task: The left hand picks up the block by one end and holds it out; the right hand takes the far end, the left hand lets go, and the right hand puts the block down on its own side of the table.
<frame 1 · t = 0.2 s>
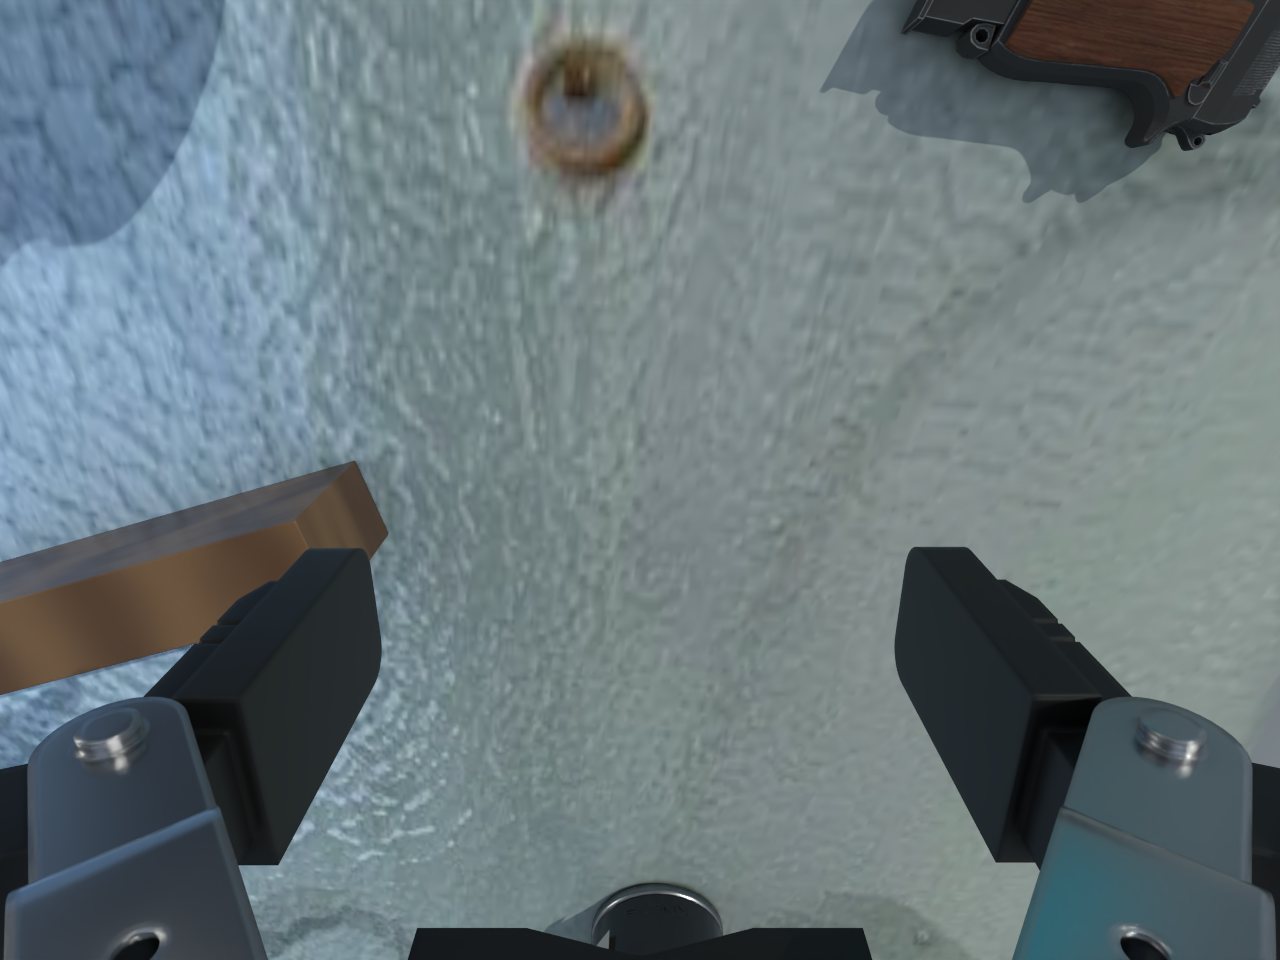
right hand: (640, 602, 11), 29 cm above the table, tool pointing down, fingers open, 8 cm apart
block: (192, 548, 43), on the table
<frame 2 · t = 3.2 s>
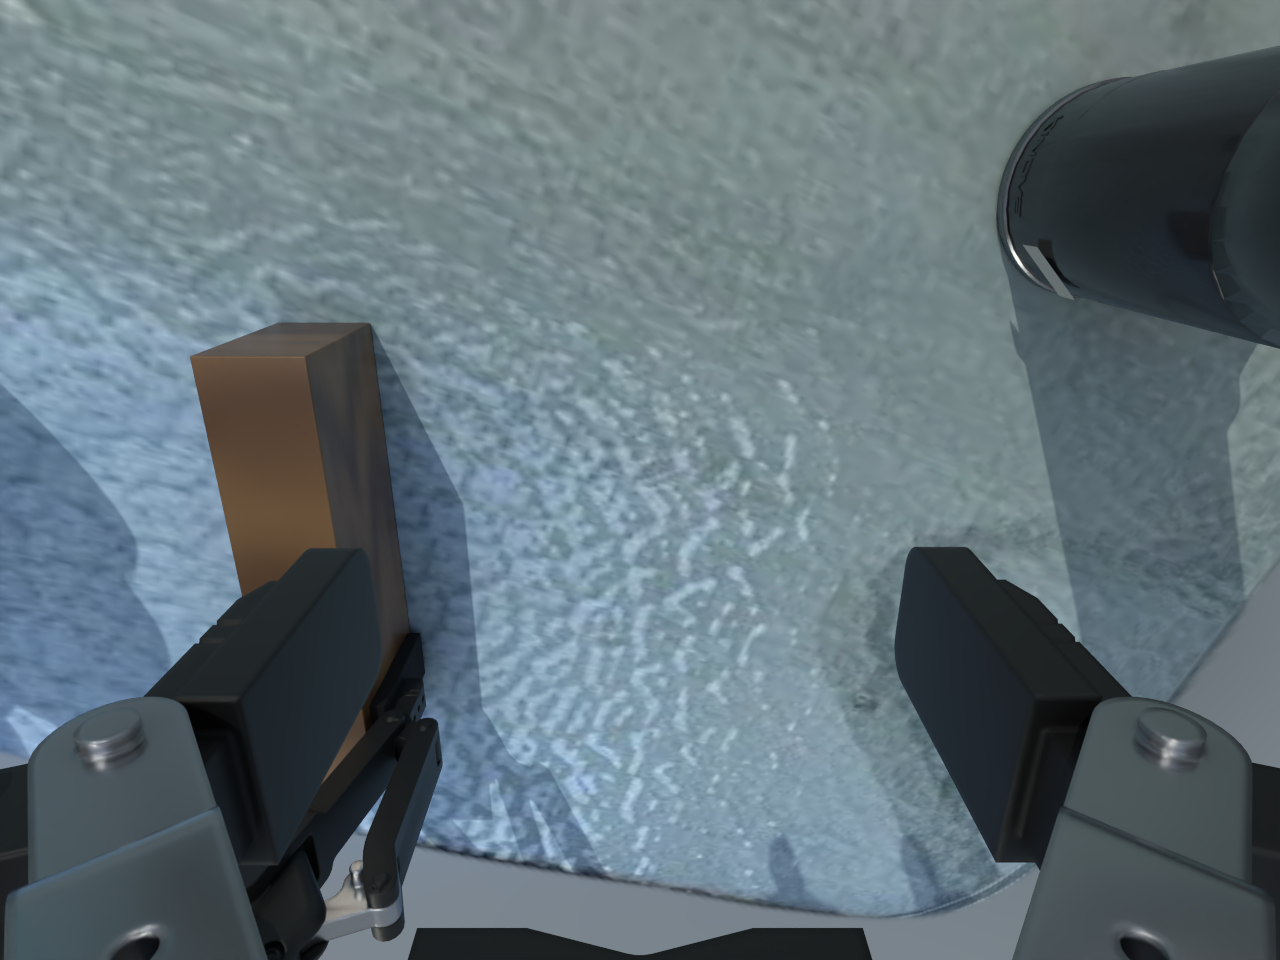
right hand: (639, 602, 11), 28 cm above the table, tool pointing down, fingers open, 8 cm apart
block: (354, 527, 42), on the table, touching left hand
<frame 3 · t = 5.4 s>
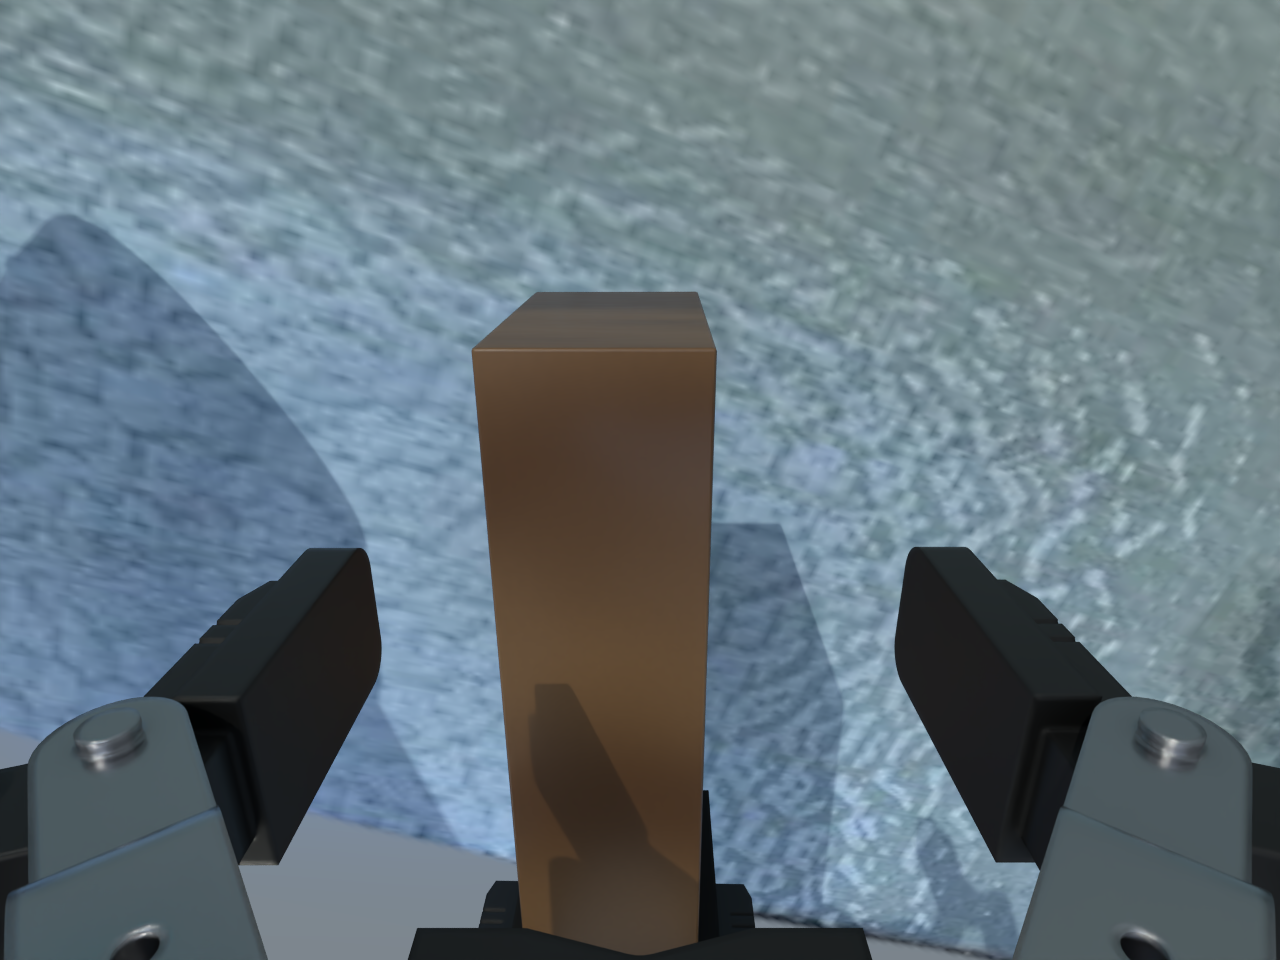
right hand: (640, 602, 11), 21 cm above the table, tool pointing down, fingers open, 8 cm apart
block: (622, 629, 26), point 9 cm above the table, touching left hand
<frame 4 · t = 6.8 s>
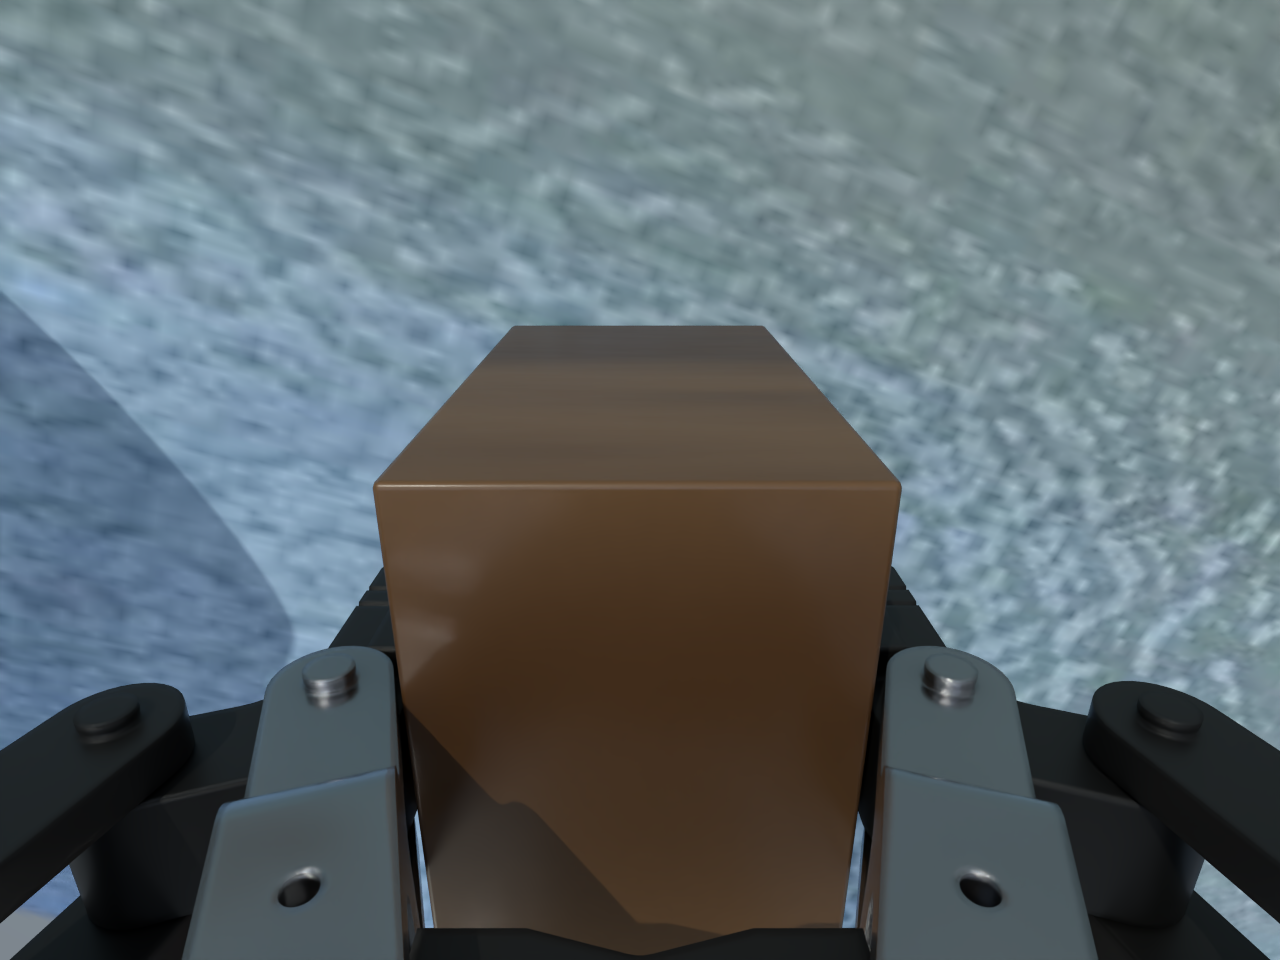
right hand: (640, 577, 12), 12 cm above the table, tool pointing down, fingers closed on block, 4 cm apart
block: (638, 799, 18), point 9 cm above the table, touching right hand, left hand
when the left hand's fingers open (10 cm above the table, at t = 7.7 s): block stays where it is, held by the right hand.
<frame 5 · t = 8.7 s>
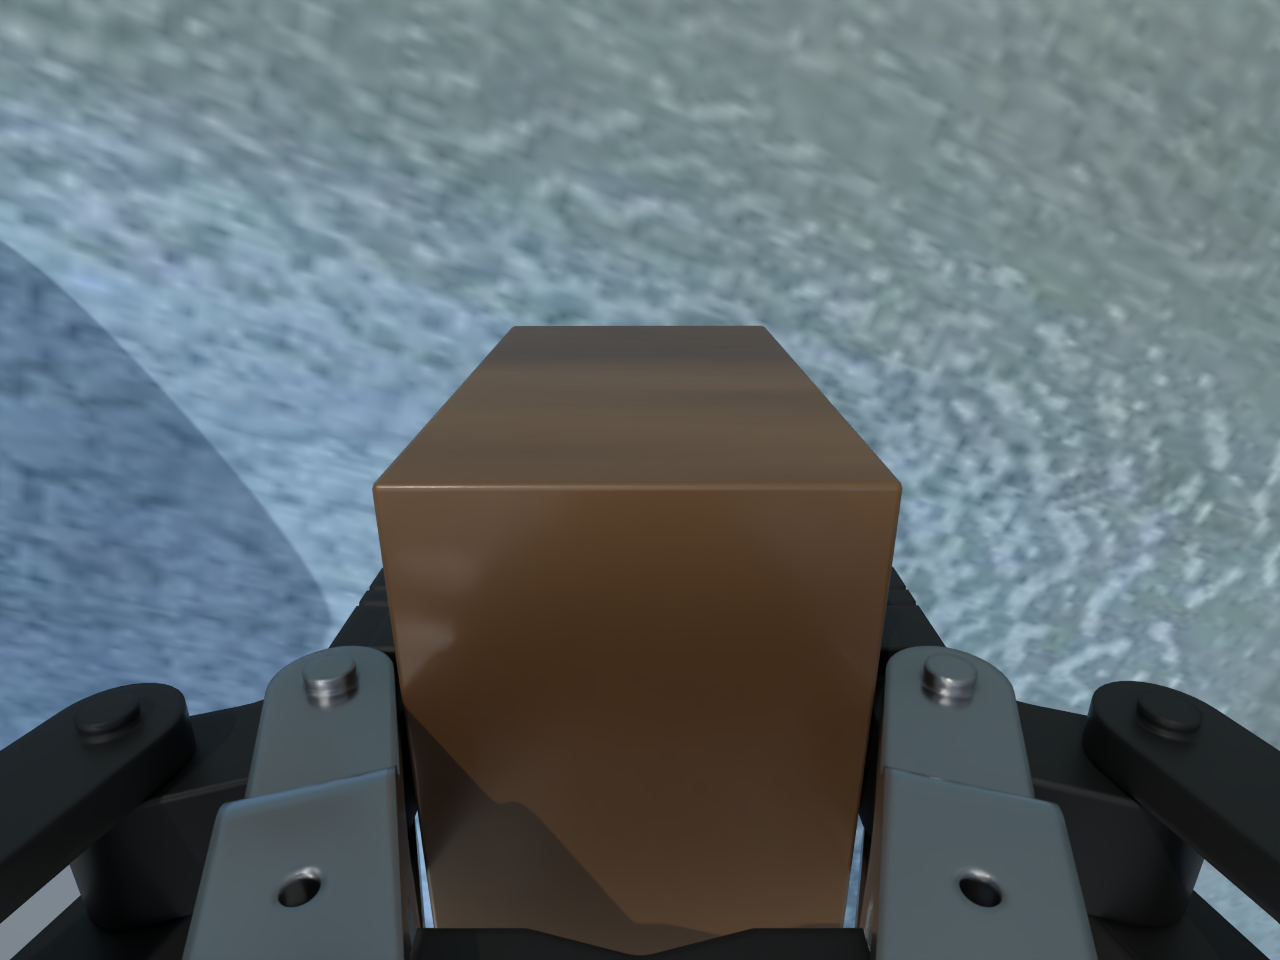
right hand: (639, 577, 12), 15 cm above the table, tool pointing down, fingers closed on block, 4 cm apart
block: (639, 799, 18), point 12 cm above the table, touching right hand
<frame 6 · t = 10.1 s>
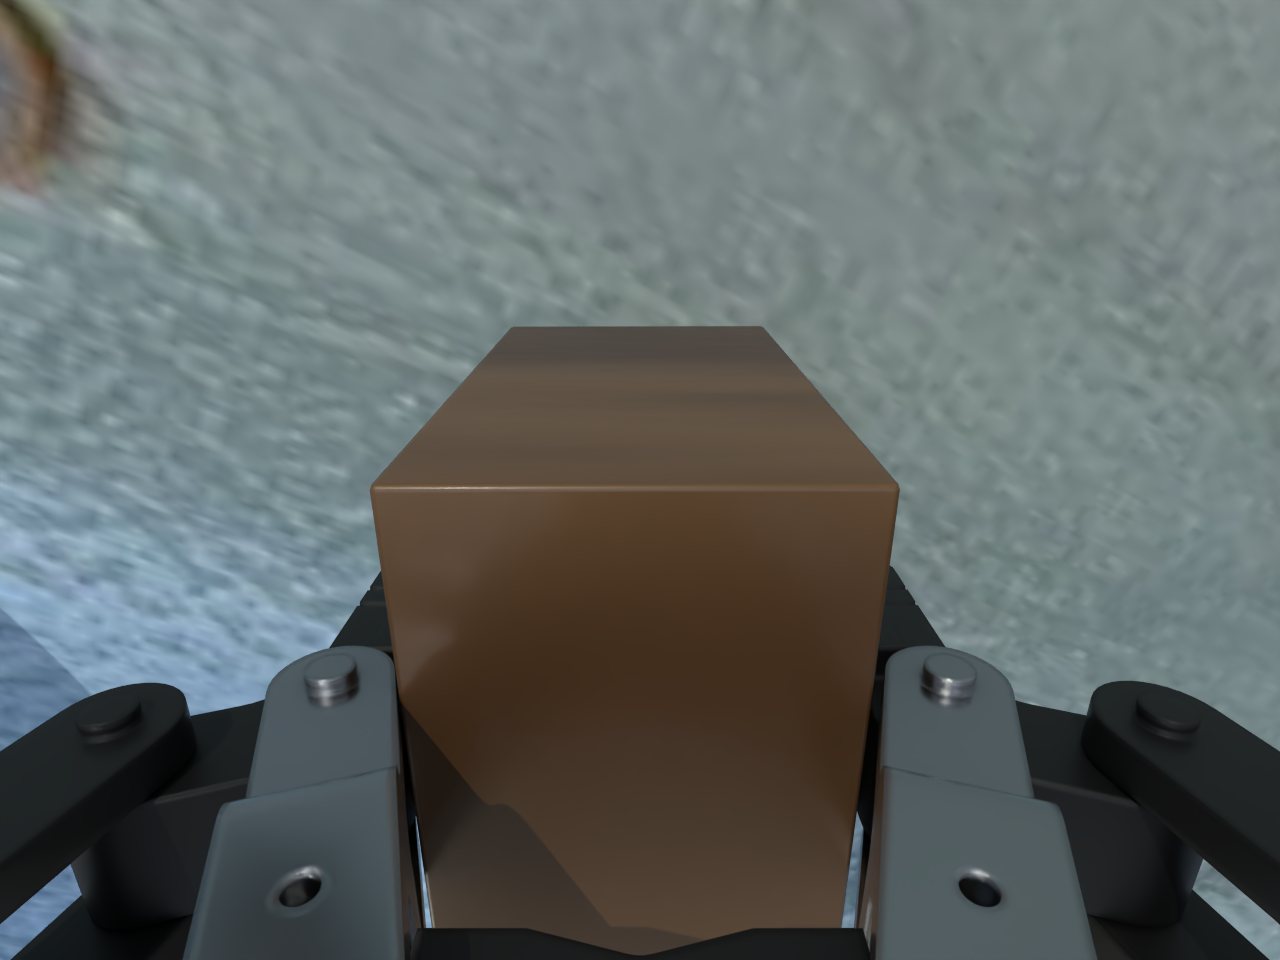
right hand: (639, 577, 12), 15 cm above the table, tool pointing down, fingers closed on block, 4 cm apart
block: (638, 800, 18), point 12 cm above the table, touching right hand
when the right hand's fingers open (4 cm above the table, at t = 13.6 s): block drops 1 cm, on the table.
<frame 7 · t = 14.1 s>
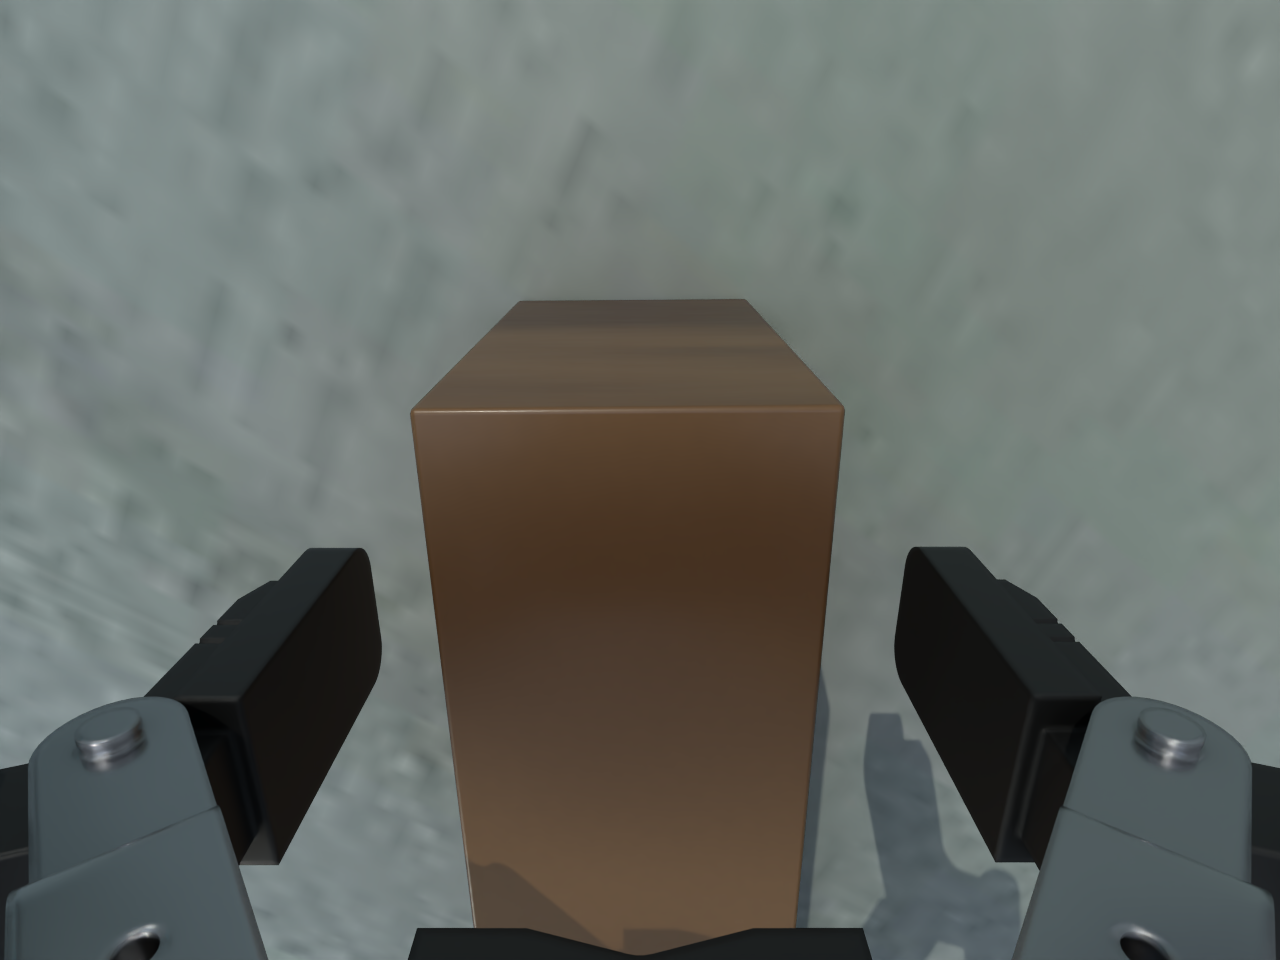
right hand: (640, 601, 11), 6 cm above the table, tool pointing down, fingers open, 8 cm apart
block: (637, 743, 19), on the table
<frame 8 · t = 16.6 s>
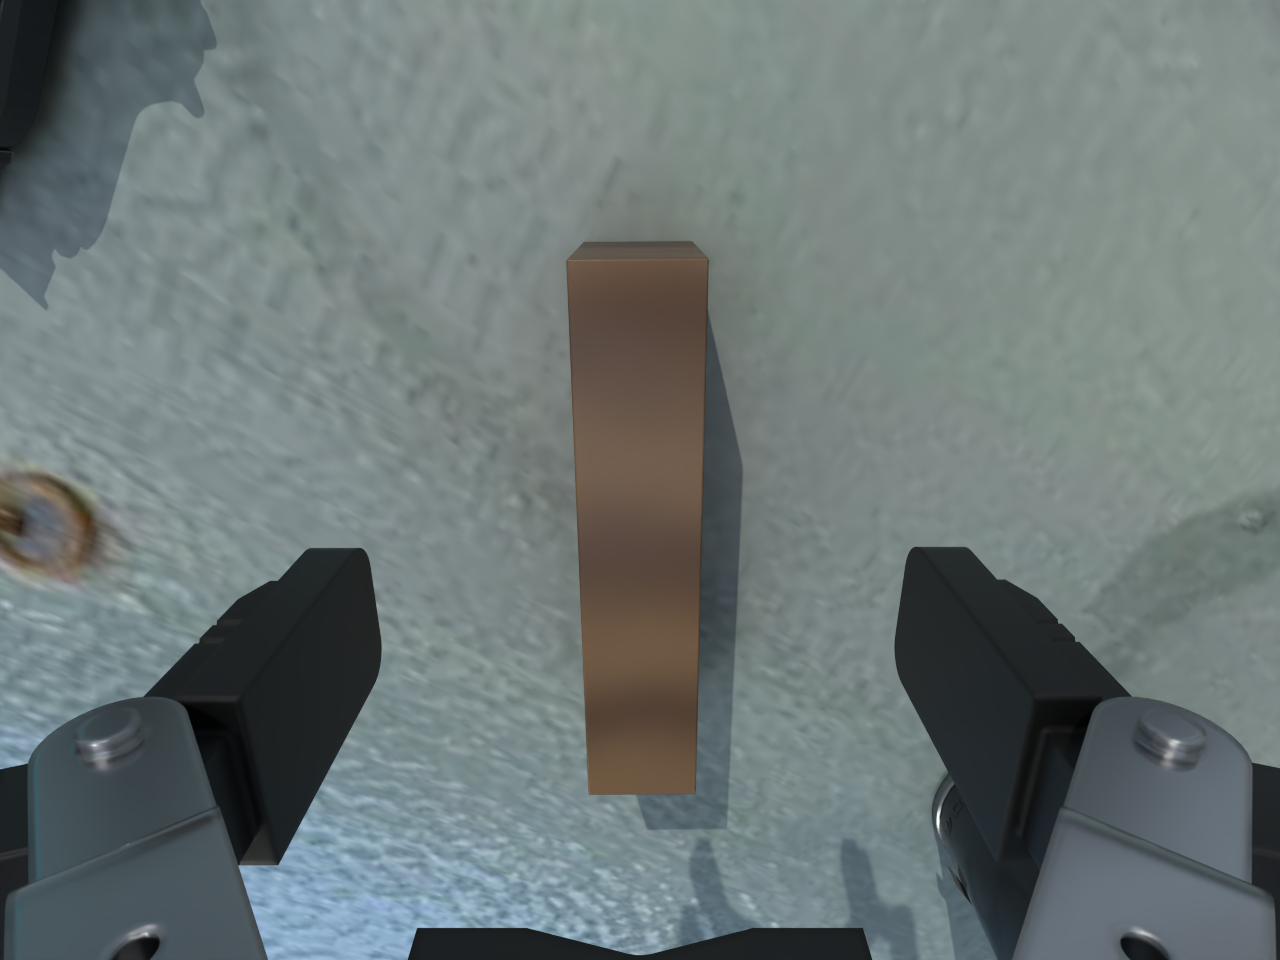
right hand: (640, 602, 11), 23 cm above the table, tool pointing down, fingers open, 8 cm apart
block: (639, 487, 36), on the table
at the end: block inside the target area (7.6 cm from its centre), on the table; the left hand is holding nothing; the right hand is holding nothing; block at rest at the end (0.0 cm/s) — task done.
